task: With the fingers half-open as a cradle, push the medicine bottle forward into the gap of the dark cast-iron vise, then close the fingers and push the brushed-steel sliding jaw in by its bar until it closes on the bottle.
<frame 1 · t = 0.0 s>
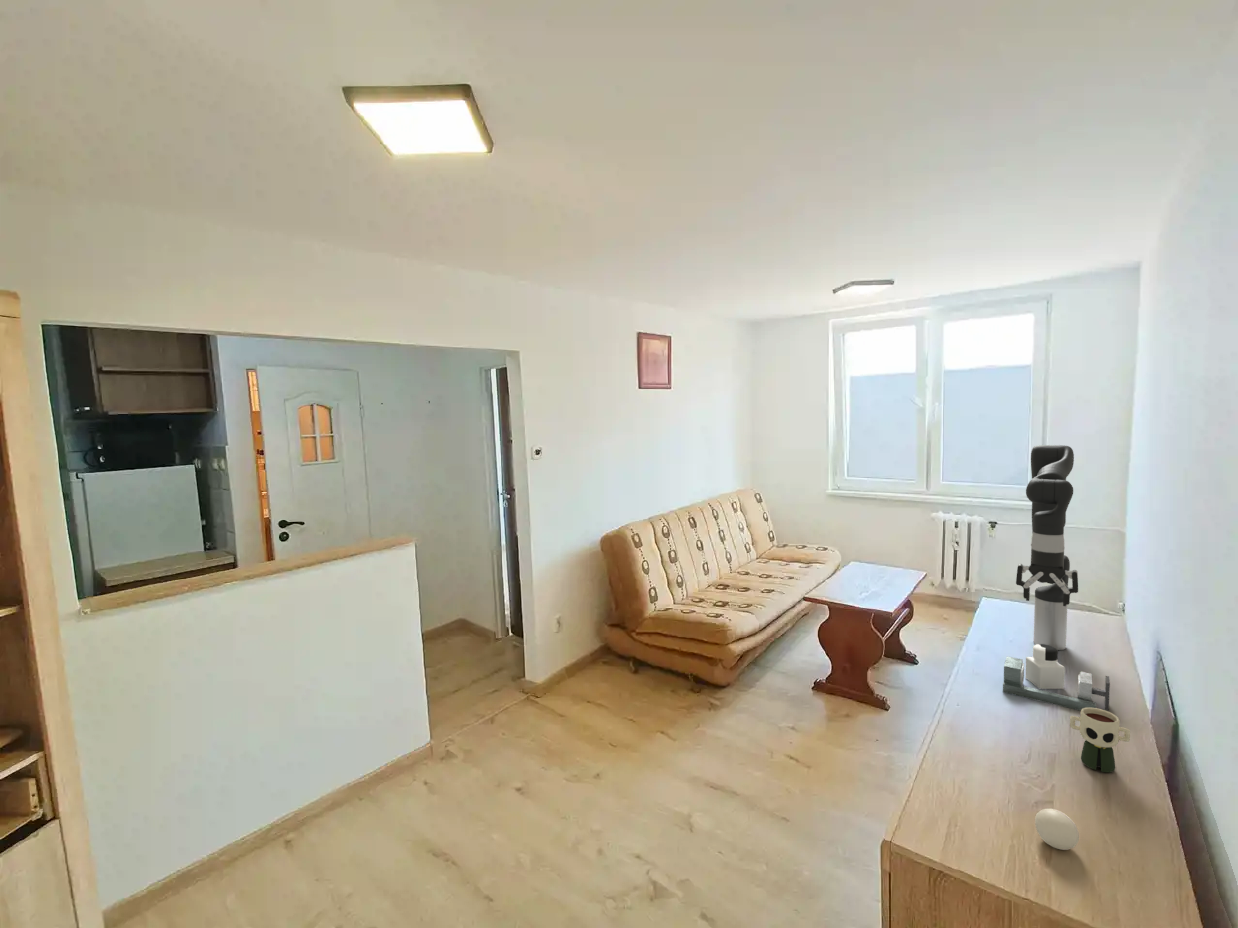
hand: (1045, 602, 162), 29 cm above the table, fingers open, 8 cm apart
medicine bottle: (1044, 684, 173), on the table
character mug: (1097, 766, 134), on the table
sliding jaw: (1093, 689, 160), point 4 cm above the table, slide at 0.0 cm
white egg: (1055, 844, 112), on the table
vise bed: (1043, 692, 168), on the table
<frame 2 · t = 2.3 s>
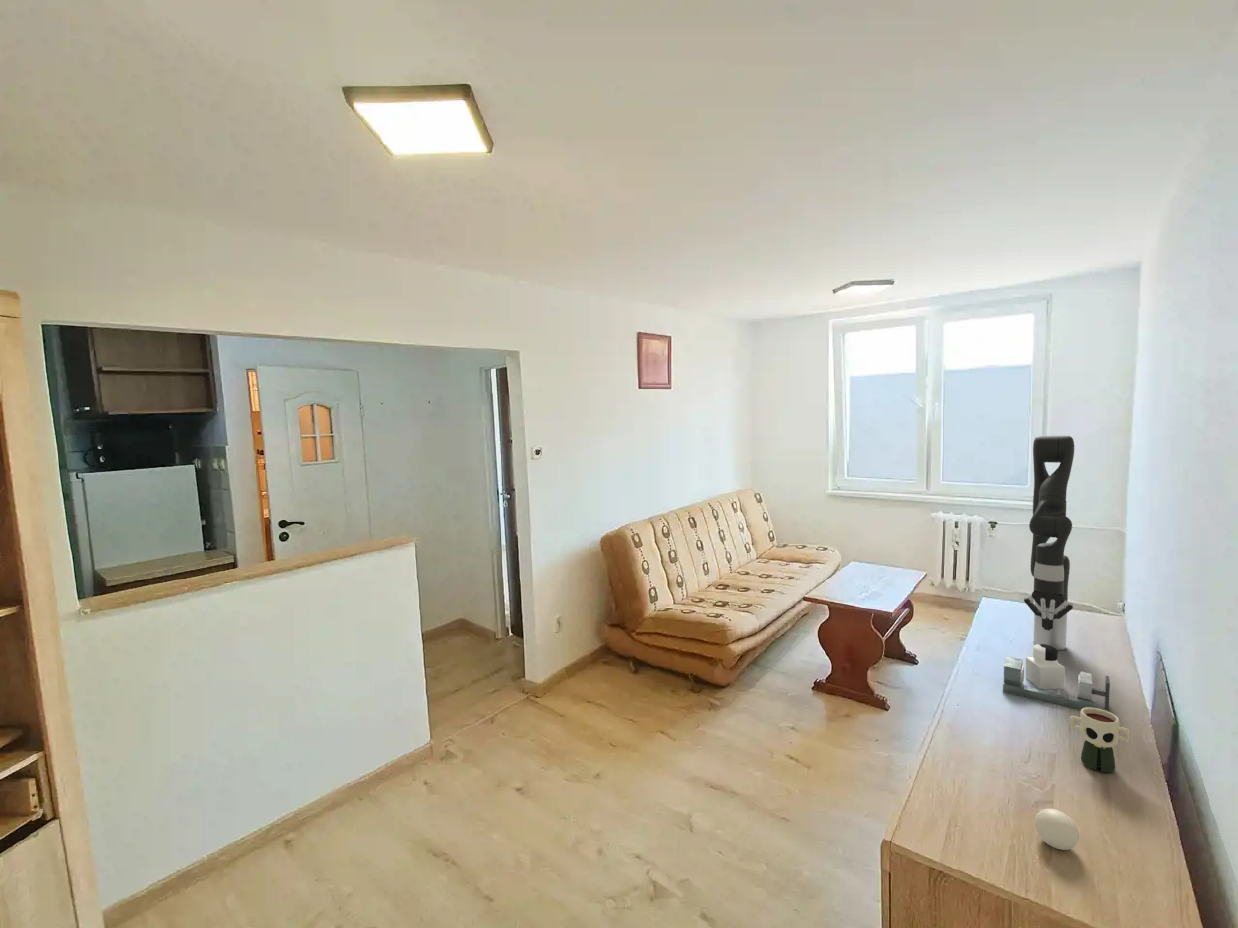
hand: (1047, 629, 178), 14 cm above the table, fingers closed
nothing on the table moved.
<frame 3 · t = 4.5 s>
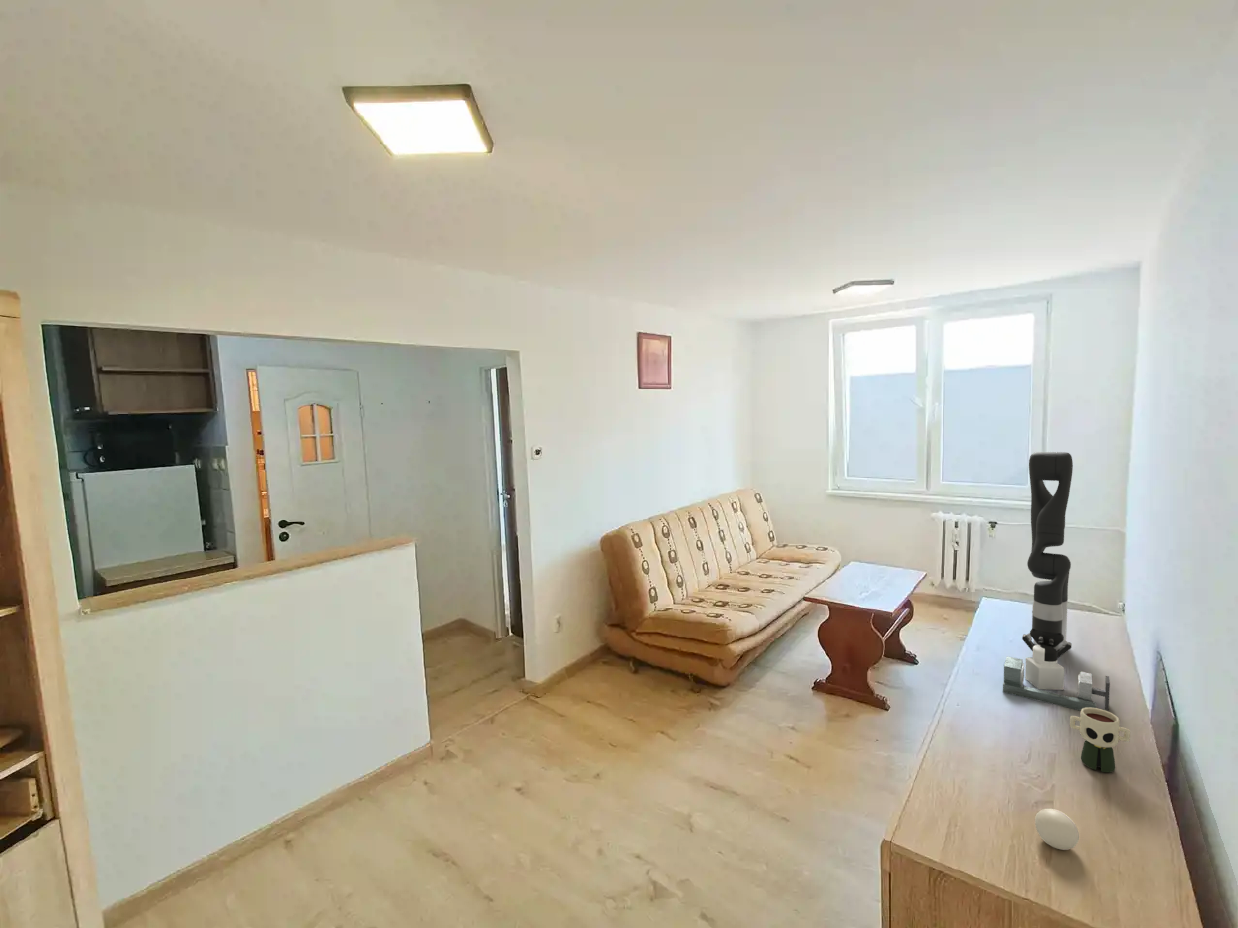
hand: (1045, 667, 177), 3 cm above the table, fingers closed
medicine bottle: (1044, 684, 173), on the table, touching gripper
everything else where it was.
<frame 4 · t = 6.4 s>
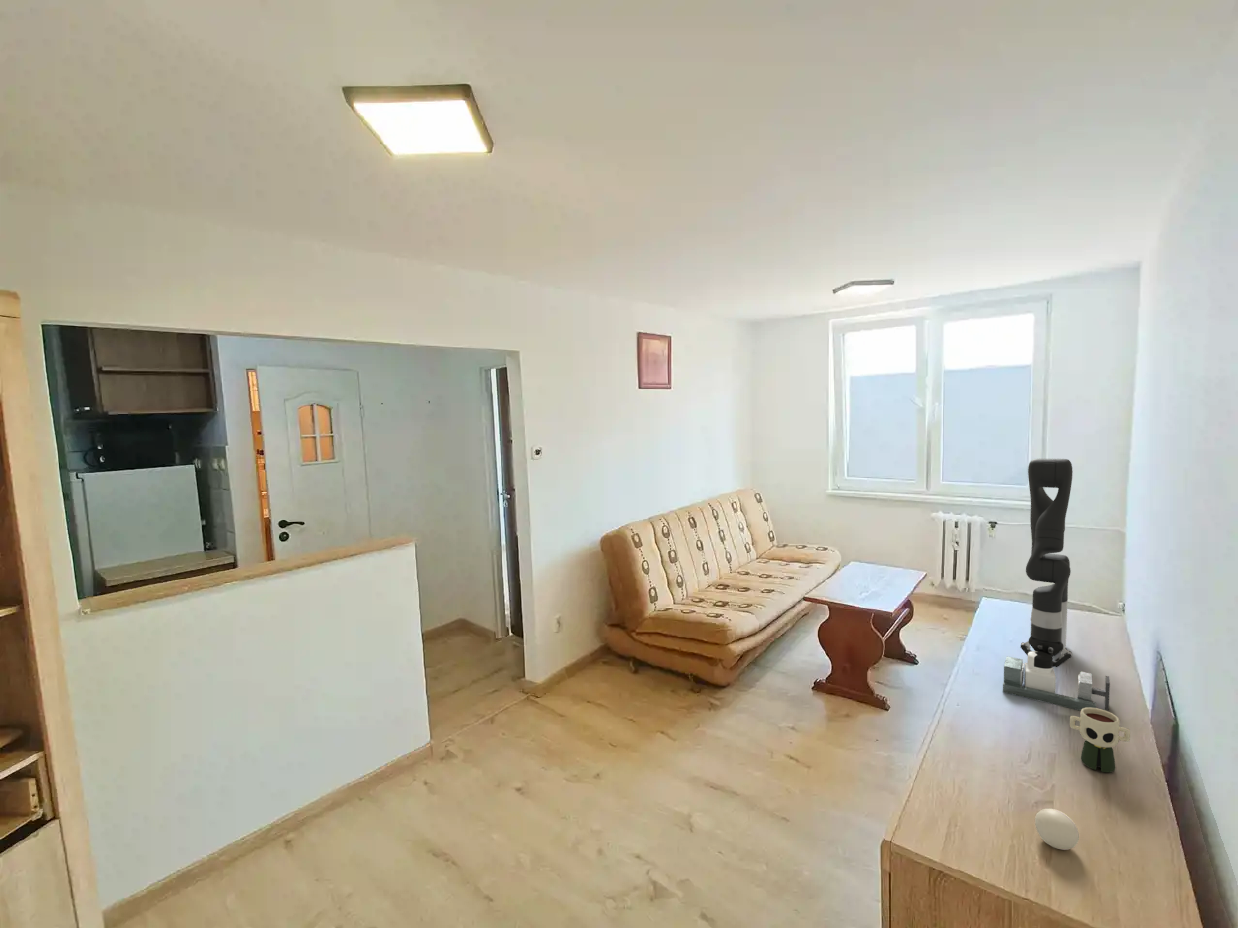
hand: (1044, 676, 171), 3 cm above the table, fingers closed
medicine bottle: (1039, 692, 168), on the table, touching gripper
everything else where it was.
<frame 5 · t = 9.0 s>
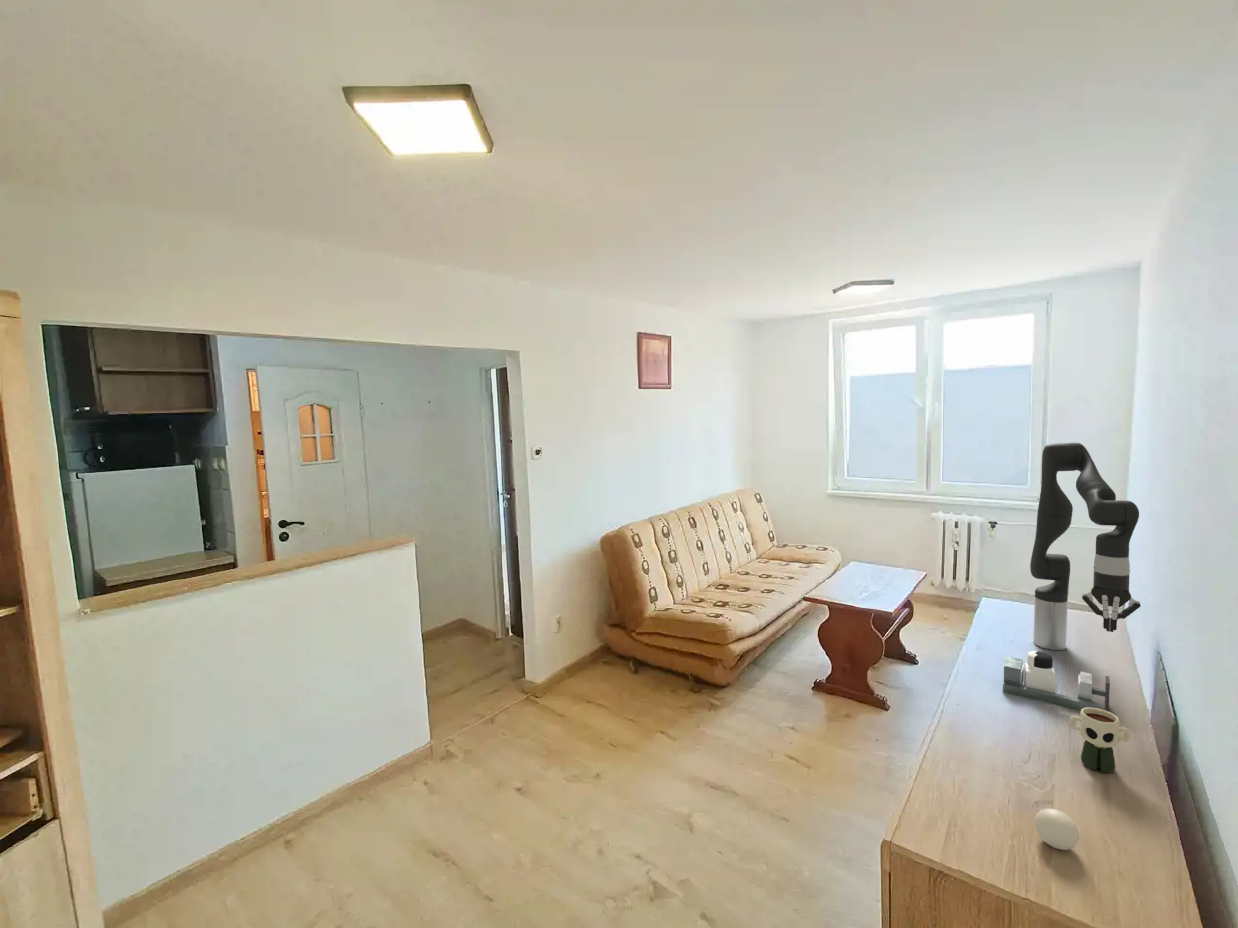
hand: (1109, 630, 158), 22 cm above the table, fingers closed
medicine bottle: (1039, 692, 168), on the table
everything else where it was.
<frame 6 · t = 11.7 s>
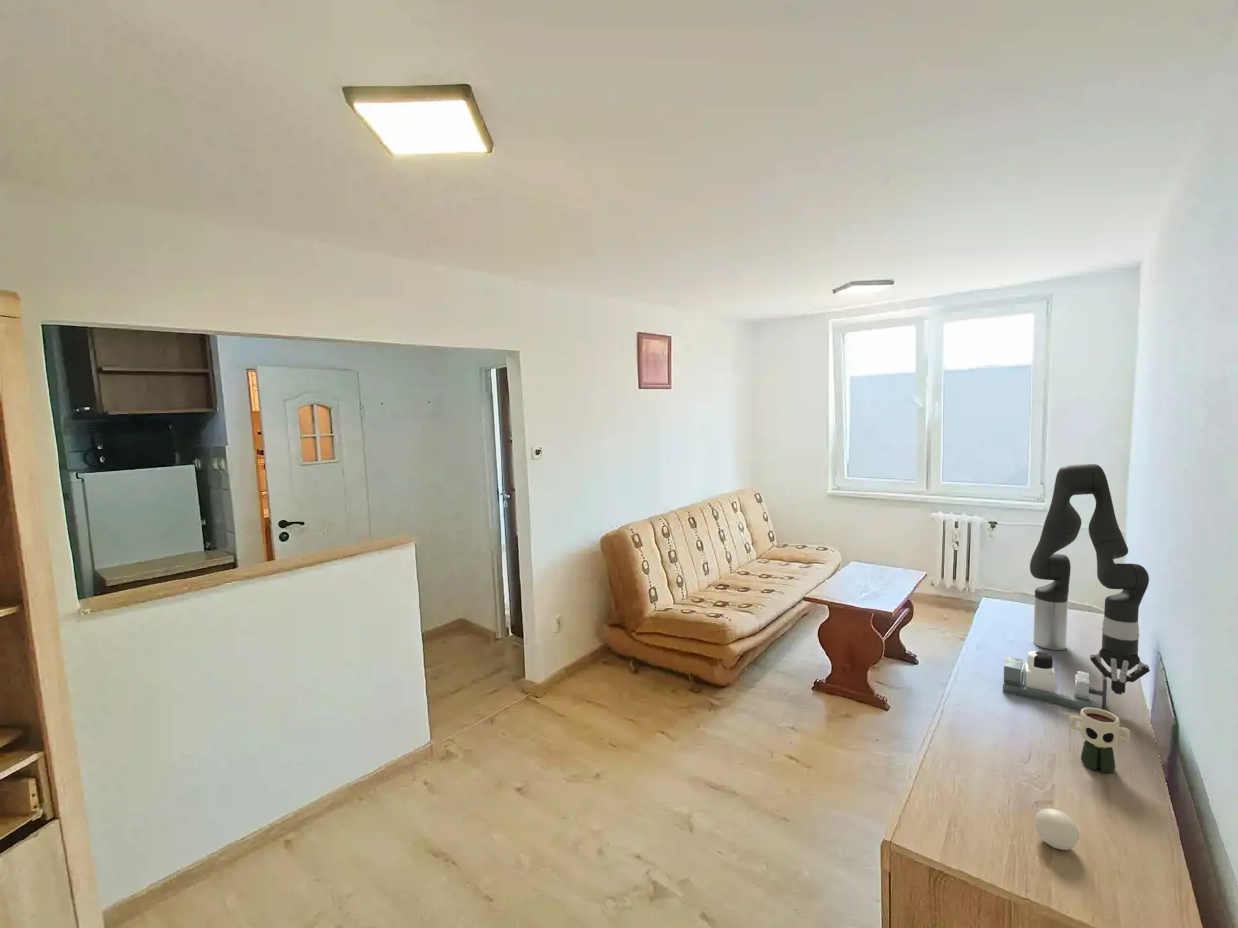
hand: (1117, 692, 157), 5 cm above the table, fingers closed
sliding jaw: (1090, 689, 161), point 4 cm above the table, slide at 0.6 cm, touching gripper
everything else where it was.
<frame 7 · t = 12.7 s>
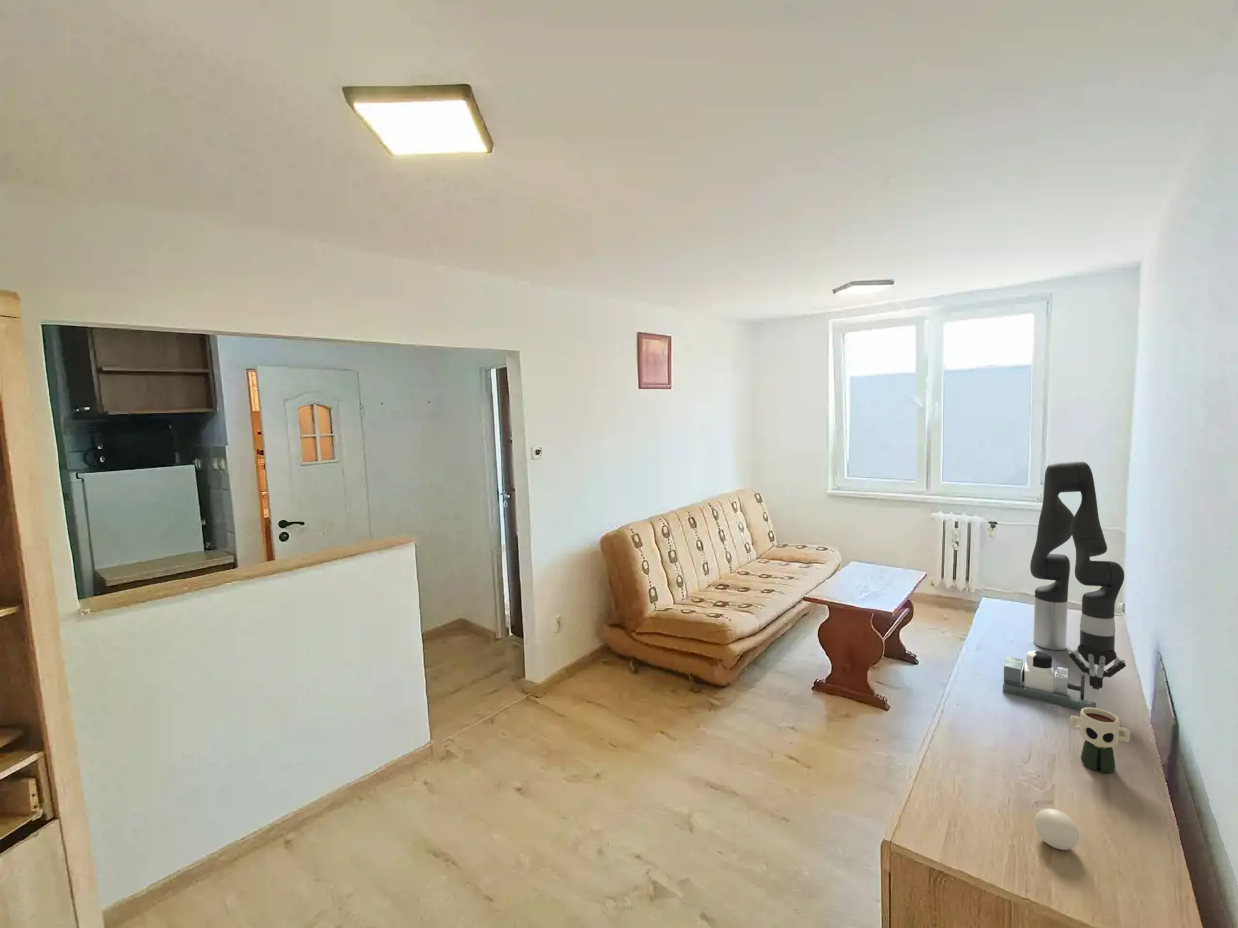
hand: (1095, 687, 160), 5 cm above the table, fingers closed
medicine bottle: (1038, 692, 169), on the table, touching sliding jaw, vise bed
sliding jaw: (1069, 684, 164), point 4 cm above the table, slide at 5.4 cm, touching gripper, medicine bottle
everything else where it was.
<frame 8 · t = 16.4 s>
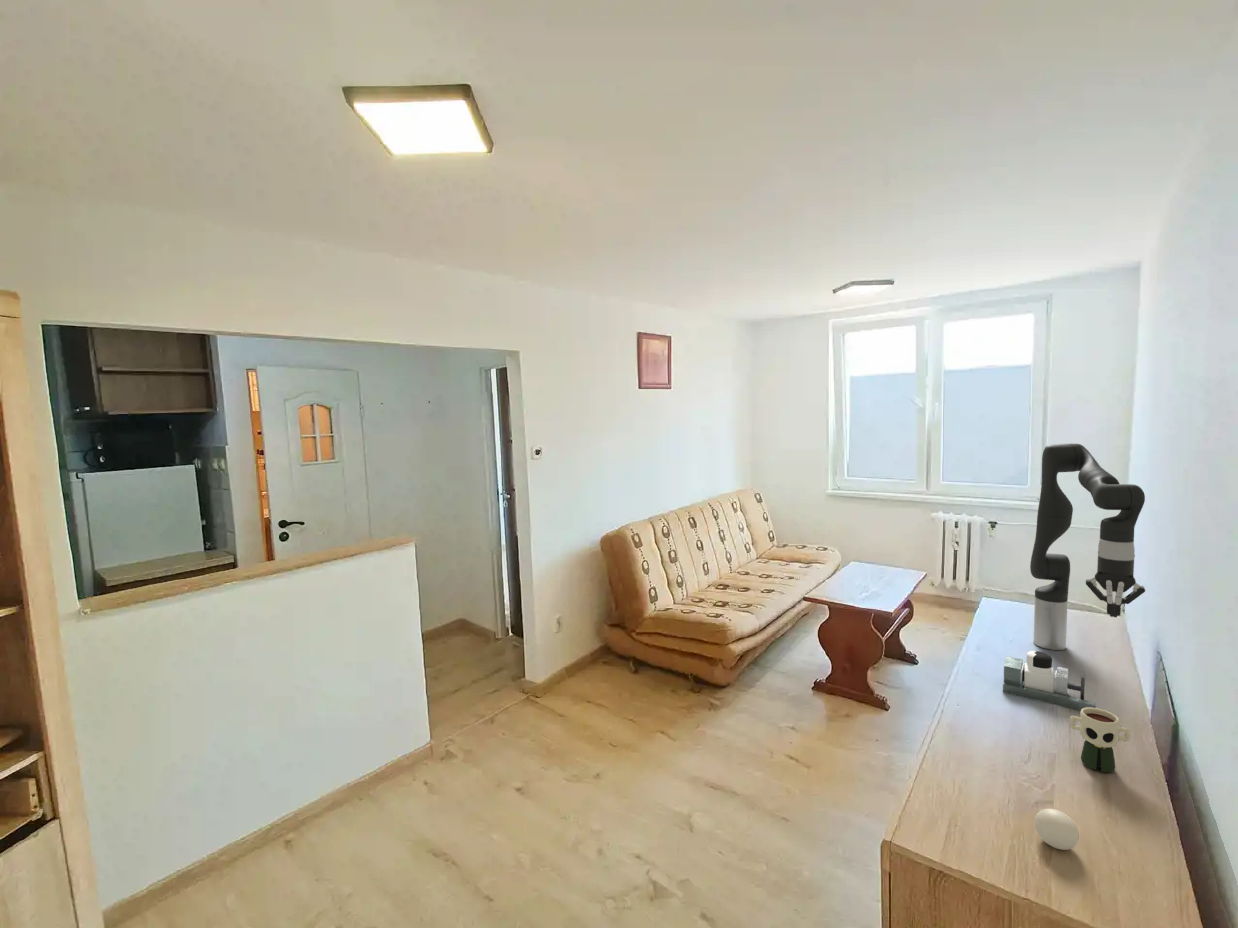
hand: (1113, 616, 156), 27 cm above the table, fingers closed
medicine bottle: (1038, 692, 169), on the table
sliding jaw: (1069, 684, 164), point 4 cm above the table, slide at 5.4 cm
everything else where it was.
at the end: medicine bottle inside the target area (1.3 cm from its centre), on the table; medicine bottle tilted 0°; sliding jaw slide at 5.4 cm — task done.
